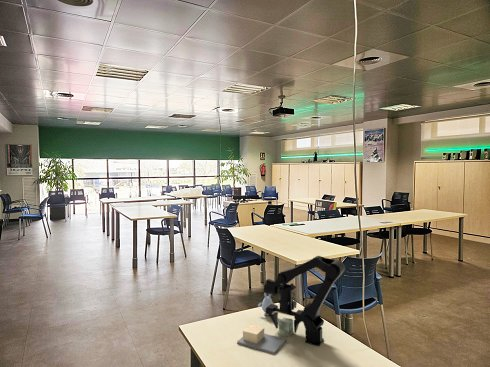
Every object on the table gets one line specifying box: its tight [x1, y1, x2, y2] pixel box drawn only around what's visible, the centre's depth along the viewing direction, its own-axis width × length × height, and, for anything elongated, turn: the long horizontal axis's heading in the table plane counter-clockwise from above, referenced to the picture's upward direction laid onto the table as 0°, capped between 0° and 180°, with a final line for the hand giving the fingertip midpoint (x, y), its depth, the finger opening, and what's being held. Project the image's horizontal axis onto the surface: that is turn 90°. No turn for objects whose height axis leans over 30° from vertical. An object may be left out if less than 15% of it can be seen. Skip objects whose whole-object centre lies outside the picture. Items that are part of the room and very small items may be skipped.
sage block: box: [278, 317, 294, 338], centre depth 156 cm, size 5×5×6 cm
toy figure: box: [257, 293, 276, 316], centre depth 175 cm, size 11×6×12 cm, turn 75°
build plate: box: [236, 324, 287, 355], centre depth 148 cm, size 18×12×5 cm, turn 60°
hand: (286, 330), depth 156 cm, fingers open, 9 cm apart
